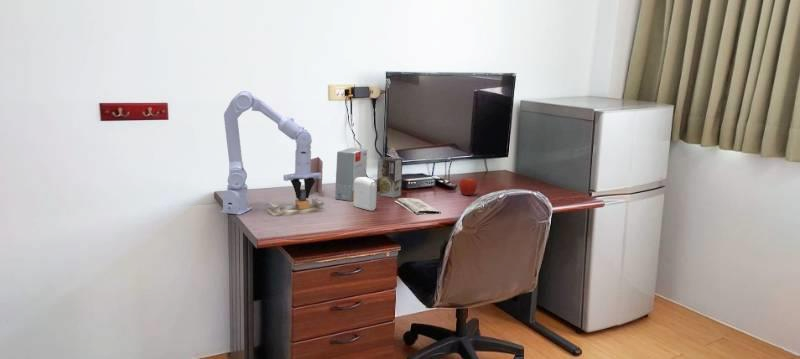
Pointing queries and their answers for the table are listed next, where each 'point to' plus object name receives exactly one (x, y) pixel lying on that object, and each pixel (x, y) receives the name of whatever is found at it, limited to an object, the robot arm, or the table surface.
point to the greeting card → (316, 168)
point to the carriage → (302, 200)
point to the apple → (468, 186)
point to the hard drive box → (349, 171)
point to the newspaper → (415, 205)
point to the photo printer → (364, 193)
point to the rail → (295, 208)
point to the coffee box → (389, 177)
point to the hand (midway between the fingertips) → (302, 198)
